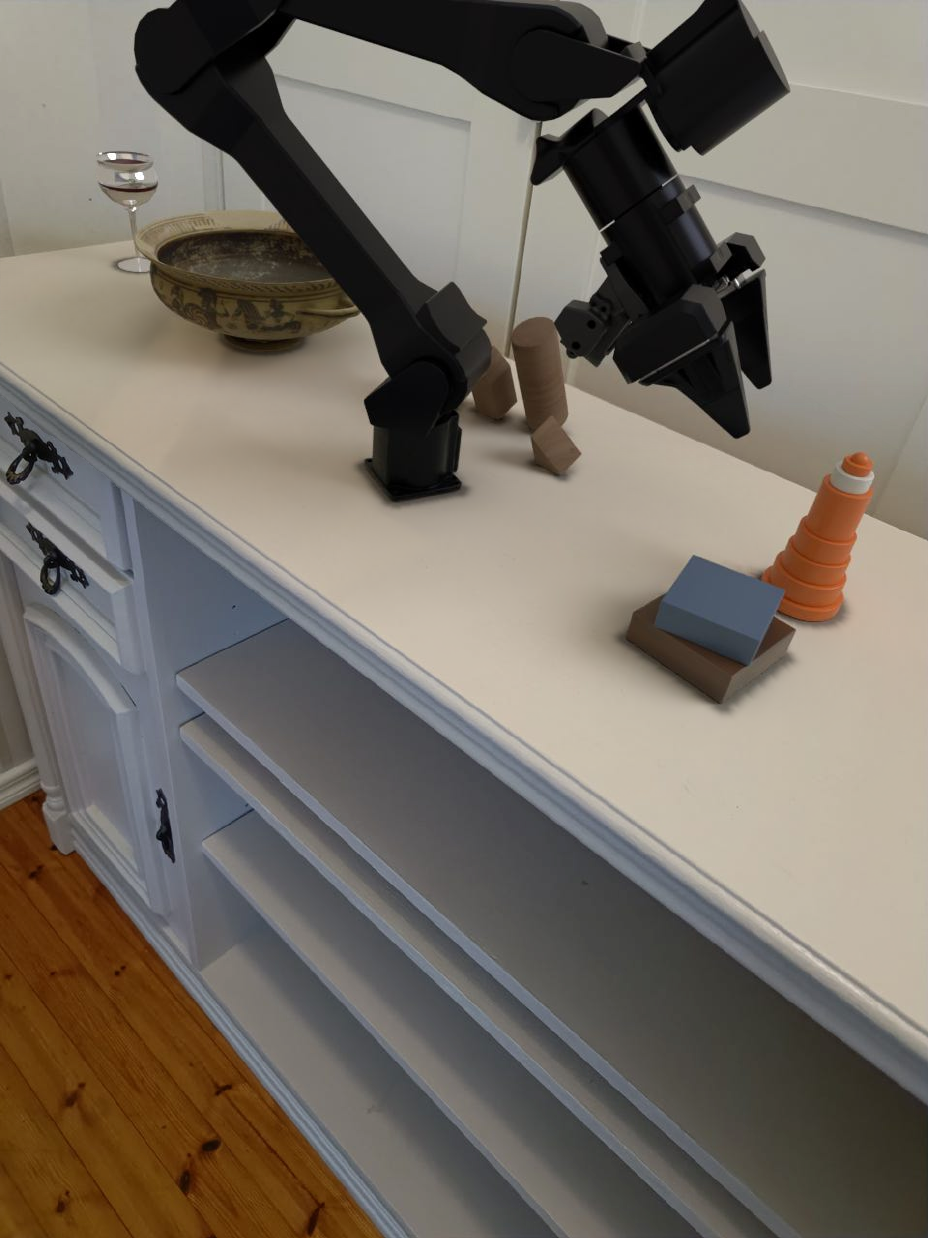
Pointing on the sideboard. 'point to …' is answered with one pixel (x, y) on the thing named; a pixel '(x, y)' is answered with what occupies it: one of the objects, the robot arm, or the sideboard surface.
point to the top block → (719, 609)
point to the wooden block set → (532, 391)
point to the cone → (823, 543)
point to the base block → (706, 654)
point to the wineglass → (128, 189)
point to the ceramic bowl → (242, 277)
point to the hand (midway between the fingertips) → (755, 409)
